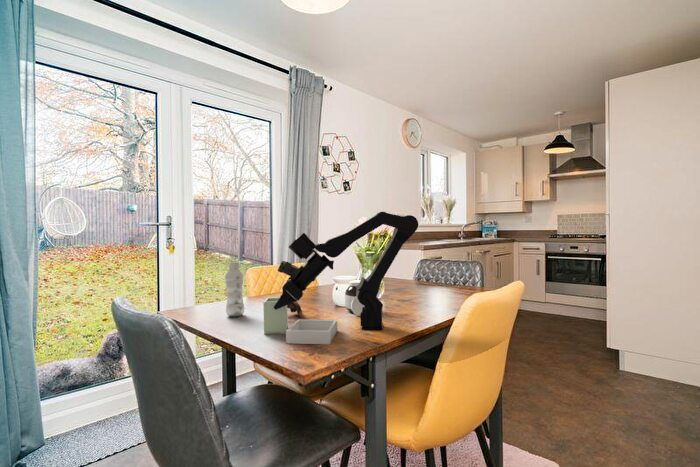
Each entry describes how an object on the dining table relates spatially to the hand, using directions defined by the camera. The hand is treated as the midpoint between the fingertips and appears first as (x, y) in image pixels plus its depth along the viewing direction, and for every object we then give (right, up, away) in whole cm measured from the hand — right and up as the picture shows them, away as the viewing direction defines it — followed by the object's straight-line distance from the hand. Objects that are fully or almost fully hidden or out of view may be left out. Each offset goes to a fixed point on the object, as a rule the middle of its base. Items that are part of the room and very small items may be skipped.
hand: (276, 305), depth 112 cm
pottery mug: (+1, -8, +19) cm, 21 cm away
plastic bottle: (-20, -8, +21) cm, 30 cm away
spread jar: (+27, -8, +23) cm, 36 cm away
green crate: (0, -8, 0) cm, 8 cm away
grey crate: (+12, -8, -7) cm, 16 cm away
